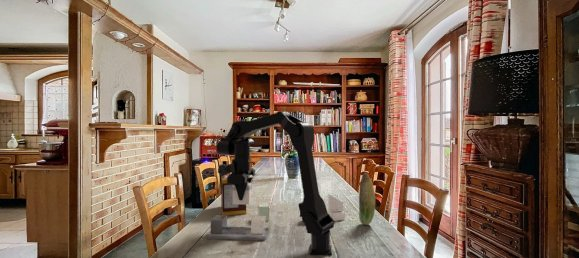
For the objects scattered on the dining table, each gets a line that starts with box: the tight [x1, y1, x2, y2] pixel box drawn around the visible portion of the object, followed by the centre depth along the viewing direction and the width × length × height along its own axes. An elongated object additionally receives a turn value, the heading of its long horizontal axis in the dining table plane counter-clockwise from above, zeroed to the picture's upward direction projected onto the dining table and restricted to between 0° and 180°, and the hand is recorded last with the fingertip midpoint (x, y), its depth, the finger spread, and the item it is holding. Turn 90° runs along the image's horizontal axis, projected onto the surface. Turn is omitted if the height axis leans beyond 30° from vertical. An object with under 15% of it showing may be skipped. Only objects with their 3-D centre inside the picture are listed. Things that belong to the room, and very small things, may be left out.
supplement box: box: [220, 173, 247, 216], centre depth 133 cm, size 10×15×16 cm
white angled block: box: [327, 194, 346, 221], centre depth 120 cm, size 4×10×9 cm
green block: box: [257, 202, 270, 222], centre depth 119 cm, size 5×4×6 cm
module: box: [232, 182, 253, 205], centre depth 106 cm, size 4×6×7 cm
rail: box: [206, 214, 270, 241], centre depth 102 cm, size 8×20×6 cm, turn 86°
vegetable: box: [358, 172, 376, 226], centre depth 113 cm, size 6×6×20 cm
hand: (242, 198), depth 106 cm, fingers closed on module, 4 cm apart
